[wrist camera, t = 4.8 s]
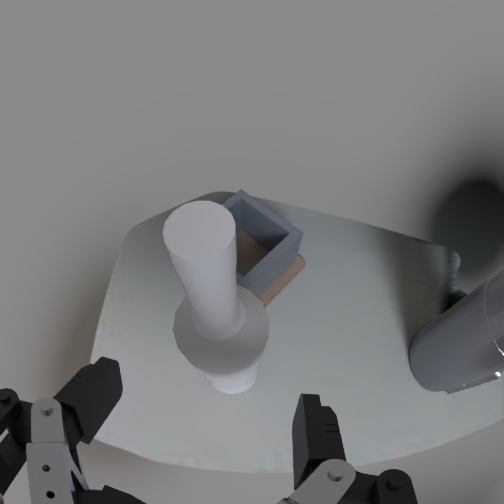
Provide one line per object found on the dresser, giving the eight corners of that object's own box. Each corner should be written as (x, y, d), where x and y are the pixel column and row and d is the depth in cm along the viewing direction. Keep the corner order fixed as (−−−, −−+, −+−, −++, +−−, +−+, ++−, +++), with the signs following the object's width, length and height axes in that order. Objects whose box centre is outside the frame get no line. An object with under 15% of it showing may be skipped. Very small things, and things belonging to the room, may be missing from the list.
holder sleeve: (304, 265, 36) (316, 232, 30) (244, 328, 32) (244, 305, 26) (241, 217, 40) (240, 181, 34) (180, 268, 36) (167, 235, 30)
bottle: (253, 346, 31) (273, 159, 10) (260, 391, 28) (314, 302, 7) (206, 351, 30) (122, 177, 9) (211, 397, 27) (103, 325, 6)
